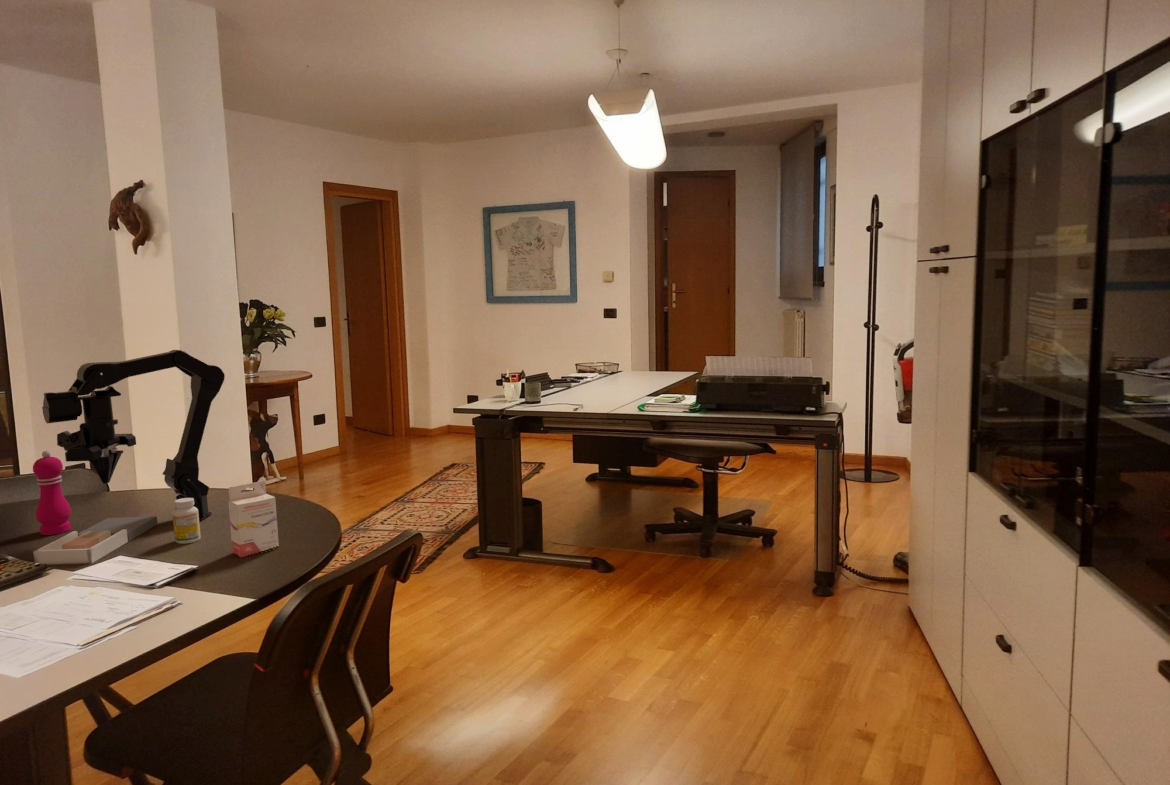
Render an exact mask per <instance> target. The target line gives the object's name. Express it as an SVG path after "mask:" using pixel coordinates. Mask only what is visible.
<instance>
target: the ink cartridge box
mask: <svg viewBox="0 0 1170 785" xmlns="http://www.w3.org/2000/svg"><path fill="white" fill-rule="evenodd" d="M266 485H267V483H266V481H265V480H262V481H257V482H256V481H255V482H250V483H245V484H239V485H234V486H230V487H229V488H228V511H229V512H228V514H229V525H230V537H231V548H232V549H231V550H232V551H231V552H232V553H233V554H234V555H236V556H238V557H239V558H243V557H248V555H249V556H251V554H252V555H255V554H254V553H257V554H259V553H258V552H261V551H264V550H267V549H269V548H273V547H276V546H279V532H278V528H279V527H278V517H277V503H276V496H273V495H272V494H271V495H270V494H268V493H267V486H266ZM248 488H249V489H253V490H250V491H245V490H247V489H248ZM242 491H243V492H242ZM279 547H280V546H279ZM261 553H262V552H261Z"/></svg>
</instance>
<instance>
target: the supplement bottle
mask: <svg viewBox="0 0 1170 785" xmlns="http://www.w3.org/2000/svg"><path fill="white" fill-rule="evenodd" d="M194 504H195V503H194V499H193V498H182V499H178V500H176V499H175V500H174V507H176V508H177V509H174V510H173V511H172V514H171V515H172V524H173V532H174V541H175V543H176V544H179V545H181V544H183V545H184V544H185V545H186V544H192V543H195V542H197V541H200V540H201V538H202V536H201V525H200V521H199V513H198V509H197V508H196V507H194V506H193V505H194Z"/></svg>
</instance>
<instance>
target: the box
mask: <svg viewBox="0 0 1170 785" xmlns="http://www.w3.org/2000/svg"><path fill="white" fill-rule="evenodd" d="M78 533H79V532H78V531H77V530H73V531H71V532H69V533H68V534H66V535H64V536H62V537H60V538H59V537H58V538H57V539H55V540H53V541H52V542H50V543H47V544H46V545H43V546H42V547H39V548H37V549H36V550H34V551H33V552H32V553H33V559H34V560H33V561H34V564H35V563H42V564H46V565H49V566H50V565H75V564H76V565H77V564H78V565H79V564H93V563H95V562H97V561H99V559H102V558H104V557H105V556H106V555H108V554H110V553H112V552H113V551H116V550H117V549H119V548H120V547H122V546H123V545H126V543H128V542H129V541H128V538H127V529H123V530H121V531H119V532H117V533H116V534H114V535H112V536H110V537H109V538H107V539H105V540H103V541H101V542H100V543H98V544H96V545H94V546H92V547H91V548H88V549H62V545H63V544H65V543H67V542H69V541H72V540H74V539H75V538H76V537H78ZM46 565H45V566H46Z"/></svg>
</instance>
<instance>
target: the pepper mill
mask: <svg viewBox="0 0 1170 785" xmlns="http://www.w3.org/2000/svg"><path fill="white" fill-rule="evenodd" d="M51 454H52V453H51V451H50V450H44V451H42V452H41V456H42V457H41V458H38V459H37V460H35V462H34V463H33V464H32V465H33V466H32V473H33V474H34V475H35V476H36V477H37V478H36V481H37V483H36V484H37V485H39V489H40V492H39V494H40V495H39V499H38V500H39V501H38V503H37V506H36V509H35V519H36V521H37V522H38V523H40V526H39V534H41V535H42V536H54V535H60V534H63V533H66V532H69V531H70V530H71V529H72V525H71V521H69V518H70V517H71V516H72V509H71V505H70V504H69V502H68V501H67V499H66V498H65V495H64V494H63V491H62V487H61V482H63V479H62V476H63V475H61V473H62V472H63V469H64V467H63V462H62V461H61V459H59V458H58V457H55V456H51Z"/></svg>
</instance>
